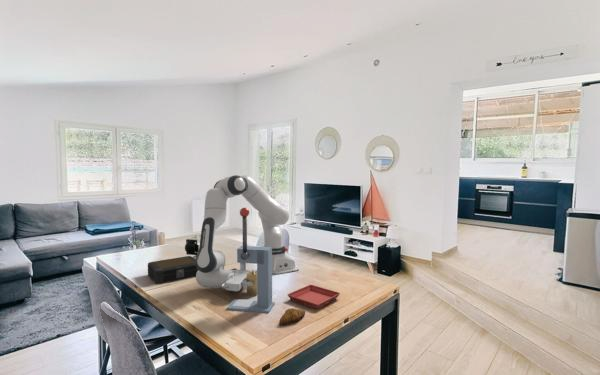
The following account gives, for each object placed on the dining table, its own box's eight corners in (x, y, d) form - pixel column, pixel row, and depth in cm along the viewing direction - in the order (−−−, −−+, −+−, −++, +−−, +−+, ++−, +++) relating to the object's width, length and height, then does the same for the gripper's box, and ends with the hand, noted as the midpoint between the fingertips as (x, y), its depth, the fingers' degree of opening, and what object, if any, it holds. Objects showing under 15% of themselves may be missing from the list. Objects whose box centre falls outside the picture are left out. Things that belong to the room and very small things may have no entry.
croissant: (298, 312, 141) (298, 301, 141) (309, 317, 136) (310, 305, 136) (274, 323, 132) (274, 310, 131) (285, 328, 127) (285, 316, 126)
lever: (238, 260, 139) (238, 208, 138) (242, 257, 143) (241, 207, 142) (247, 260, 139) (247, 208, 137) (251, 258, 143) (250, 207, 141)
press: (226, 309, 144) (225, 250, 142) (234, 300, 153) (234, 245, 152) (268, 313, 140) (268, 252, 139) (274, 303, 150) (274, 246, 148)
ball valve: (197, 266, 206) (196, 238, 205) (184, 265, 208) (184, 237, 206) (210, 258, 223) (210, 232, 222) (198, 257, 225) (198, 232, 224)
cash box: (156, 285, 173) (156, 271, 173) (147, 275, 189) (146, 262, 189) (203, 276, 188) (202, 262, 188) (190, 267, 204) (190, 255, 204)
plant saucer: (310, 290, 167) (310, 283, 167) (340, 299, 156) (340, 292, 156) (286, 301, 153) (286, 294, 153) (318, 312, 142) (318, 304, 142)
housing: (246, 294, 160) (246, 271, 159) (250, 291, 165) (249, 268, 164) (256, 295, 159) (256, 272, 159) (259, 291, 164) (259, 268, 164)
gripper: (219, 280, 154) (247, 282, 151) (235, 267, 174) (261, 268, 171) (219, 293, 154) (247, 295, 152) (235, 279, 174) (261, 280, 172)
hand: (255, 281), depth 162 cm, fingers closed on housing, 5 cm apart
